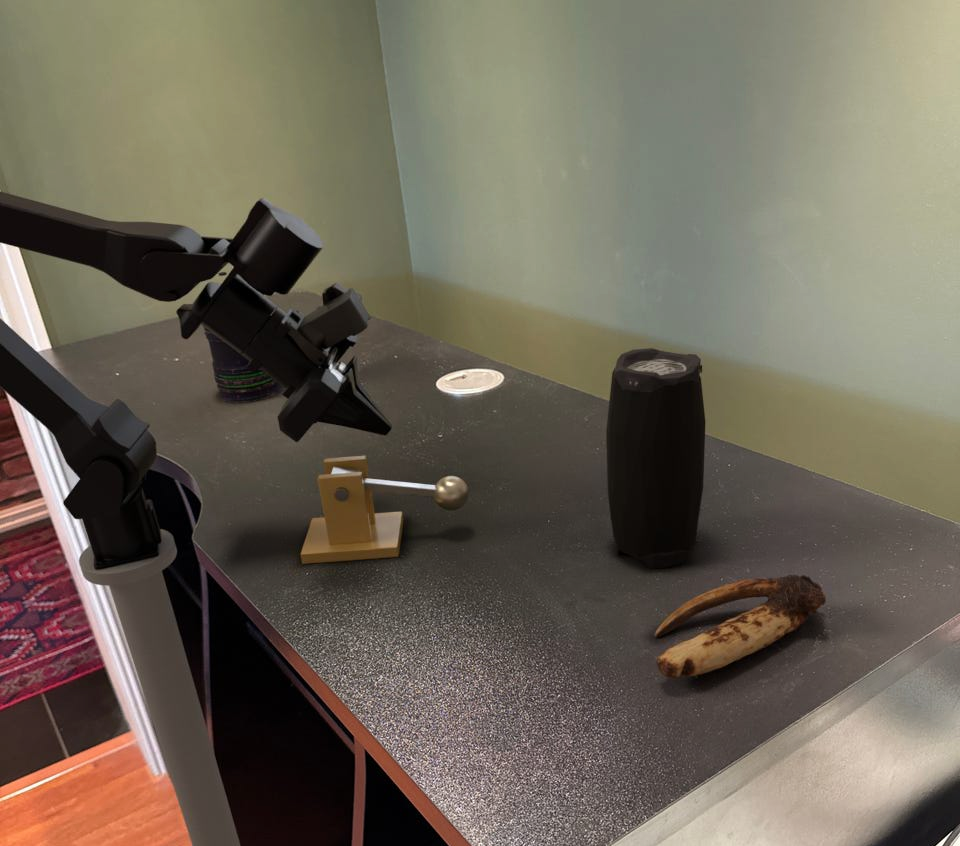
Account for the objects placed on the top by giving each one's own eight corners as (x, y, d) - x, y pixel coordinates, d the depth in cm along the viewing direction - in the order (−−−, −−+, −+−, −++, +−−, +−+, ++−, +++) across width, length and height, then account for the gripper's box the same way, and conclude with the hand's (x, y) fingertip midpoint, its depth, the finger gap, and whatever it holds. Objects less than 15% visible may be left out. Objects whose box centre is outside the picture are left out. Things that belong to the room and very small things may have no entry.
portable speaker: (715, 541, 91) (725, 352, 82) (666, 582, 85) (671, 384, 76) (641, 519, 97) (643, 339, 87) (590, 557, 91) (587, 367, 81)
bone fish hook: (760, 585, 85) (609, 654, 76) (762, 540, 83) (608, 606, 74) (845, 627, 77) (688, 708, 69) (850, 578, 75) (689, 656, 67)
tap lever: (466, 502, 97) (470, 471, 96) (466, 518, 94) (470, 486, 92) (332, 489, 96) (334, 458, 95) (328, 504, 93) (329, 472, 92)
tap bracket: (403, 520, 101) (393, 447, 97) (398, 557, 94) (387, 479, 90) (313, 527, 101) (300, 454, 97) (302, 564, 94) (286, 487, 90)
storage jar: (289, 393, 141) (267, 276, 133) (226, 407, 138) (199, 288, 129) (273, 376, 149) (251, 264, 141) (213, 389, 146) (186, 276, 137)
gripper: (292, 290, 75) (438, 406, 80) (324, 244, 92) (443, 343, 97) (217, 387, 79) (360, 493, 84) (260, 327, 96) (378, 418, 101)
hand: (389, 430), depth 91 cm, fingers closed
